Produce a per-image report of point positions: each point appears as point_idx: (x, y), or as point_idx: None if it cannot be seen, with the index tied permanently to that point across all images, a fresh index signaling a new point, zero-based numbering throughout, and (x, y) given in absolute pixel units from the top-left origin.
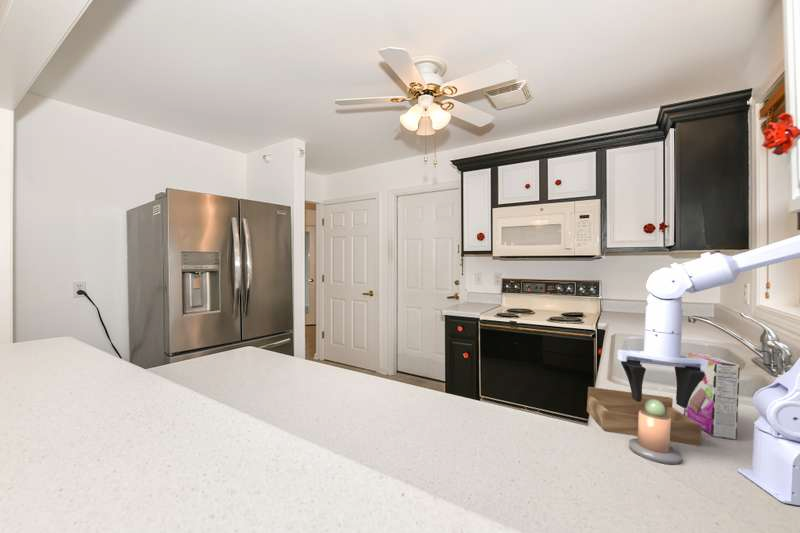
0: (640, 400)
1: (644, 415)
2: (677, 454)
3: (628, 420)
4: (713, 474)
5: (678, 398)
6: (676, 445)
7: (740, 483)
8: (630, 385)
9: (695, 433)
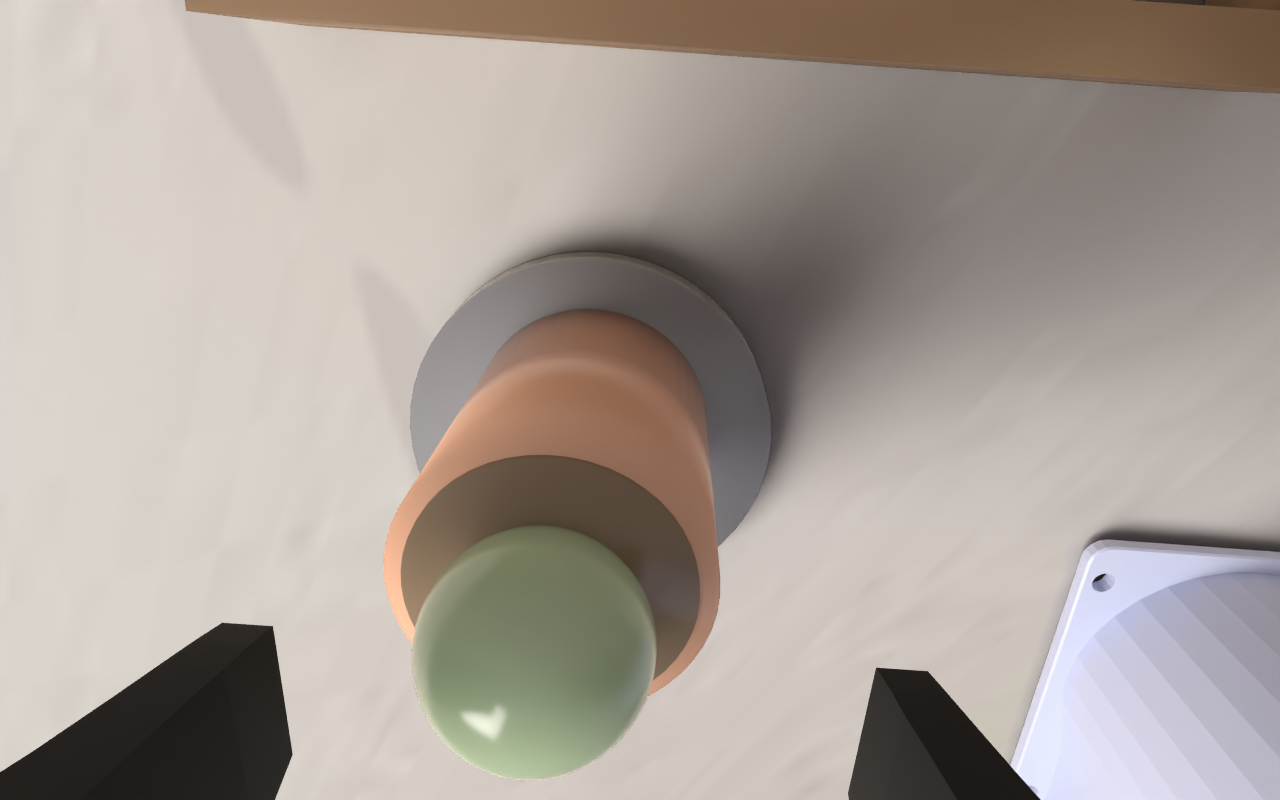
0: (274, 777)
1: (409, 632)
2: (727, 501)
3: (508, 35)
4: (852, 612)
5: (895, 790)
6: (937, 171)
7: (946, 674)
8: (28, 773)
9: (1259, 90)
